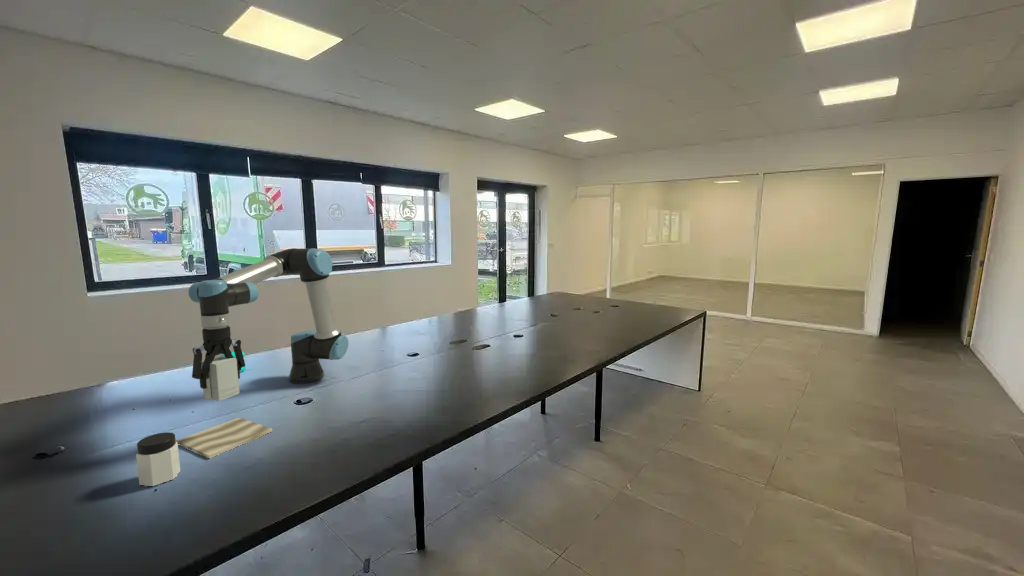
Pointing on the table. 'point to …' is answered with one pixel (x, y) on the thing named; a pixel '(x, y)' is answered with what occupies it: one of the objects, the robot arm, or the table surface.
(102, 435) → the table surface
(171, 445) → the jar
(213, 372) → the supplement box
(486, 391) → the table surface
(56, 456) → the table surface
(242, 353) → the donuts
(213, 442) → the birch board
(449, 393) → the table surface
